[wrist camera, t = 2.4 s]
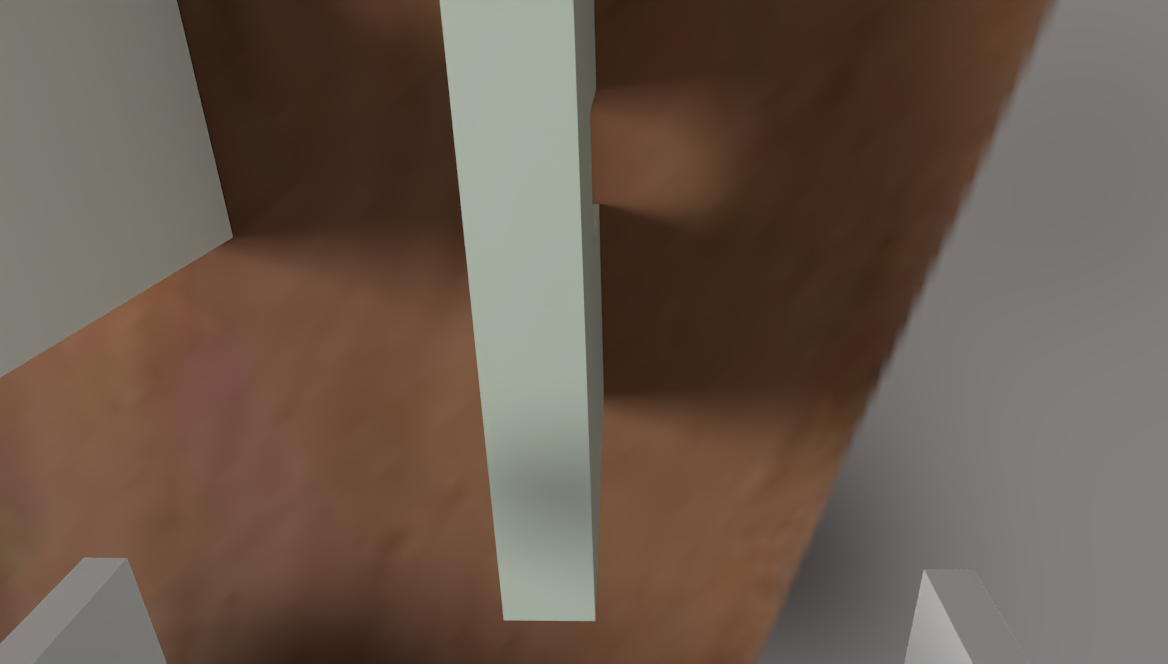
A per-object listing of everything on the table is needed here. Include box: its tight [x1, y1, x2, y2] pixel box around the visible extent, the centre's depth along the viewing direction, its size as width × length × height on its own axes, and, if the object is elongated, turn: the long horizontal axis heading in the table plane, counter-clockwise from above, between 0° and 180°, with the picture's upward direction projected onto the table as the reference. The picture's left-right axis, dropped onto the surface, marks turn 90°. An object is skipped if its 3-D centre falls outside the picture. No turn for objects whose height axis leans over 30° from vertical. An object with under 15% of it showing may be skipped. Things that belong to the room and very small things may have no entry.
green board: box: [440, 0, 604, 621], centre depth 20 cm, size 20×2×12 cm, turn 2°
